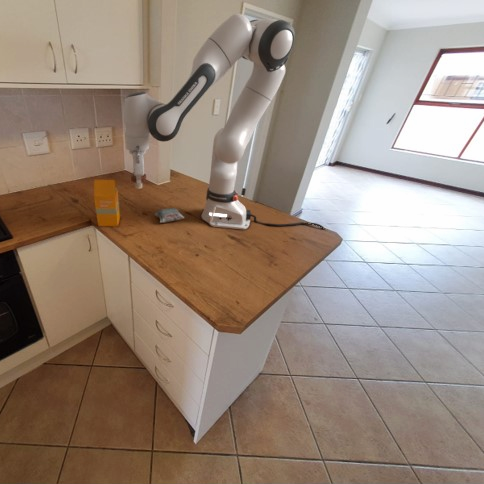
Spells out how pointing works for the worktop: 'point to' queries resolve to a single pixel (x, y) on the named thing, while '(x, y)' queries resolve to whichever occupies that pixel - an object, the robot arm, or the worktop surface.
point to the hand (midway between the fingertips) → (138, 179)
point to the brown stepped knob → (133, 179)
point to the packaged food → (169, 215)
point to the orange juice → (106, 202)
